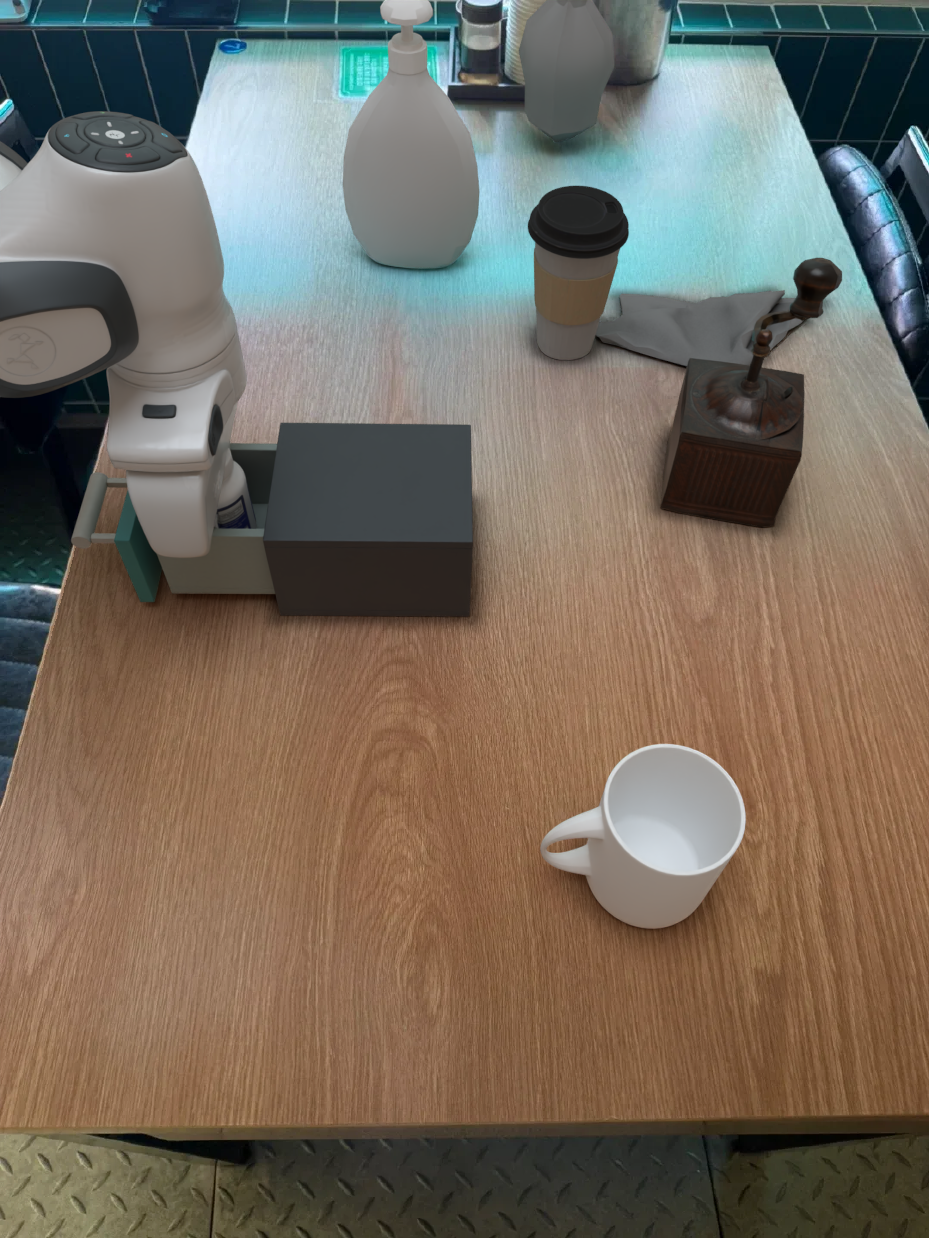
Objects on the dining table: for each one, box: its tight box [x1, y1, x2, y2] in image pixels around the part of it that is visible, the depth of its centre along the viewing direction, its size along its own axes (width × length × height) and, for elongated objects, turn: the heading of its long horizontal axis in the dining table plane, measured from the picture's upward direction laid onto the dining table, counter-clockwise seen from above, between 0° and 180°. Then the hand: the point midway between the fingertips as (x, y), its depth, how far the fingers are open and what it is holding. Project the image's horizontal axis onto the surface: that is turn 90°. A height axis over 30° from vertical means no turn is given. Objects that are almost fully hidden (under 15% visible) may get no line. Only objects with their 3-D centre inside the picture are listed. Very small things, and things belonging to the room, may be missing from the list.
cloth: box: [595, 289, 804, 367], centre depth 99 cm, size 26×14×2 cm, turn 93°
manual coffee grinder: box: [660, 257, 843, 528], centre depth 82 cm, size 16×11×18 cm
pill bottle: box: [217, 448, 257, 529], centre depth 75 cm, size 5×5×9 cm
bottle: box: [518, 0, 615, 144], centre depth 110 cm, size 11×11×30 cm
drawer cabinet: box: [263, 422, 474, 618], centre depth 78 cm, size 16×13×10 cm
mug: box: [539, 743, 747, 929], centre depth 61 cm, size 9×12×11 cm
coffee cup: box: [527, 185, 630, 361], centre depth 93 cm, size 9×9×15 cm
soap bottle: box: [342, 0, 480, 270], centre depth 96 cm, size 14×8×27 cm, turn 86°
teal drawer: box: [70, 442, 277, 603], centre depth 77 cm, size 19×11×8 cm, turn 90°
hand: (216, 502), depth 76 cm, fingers closed on pill bottle, 5 cm apart
